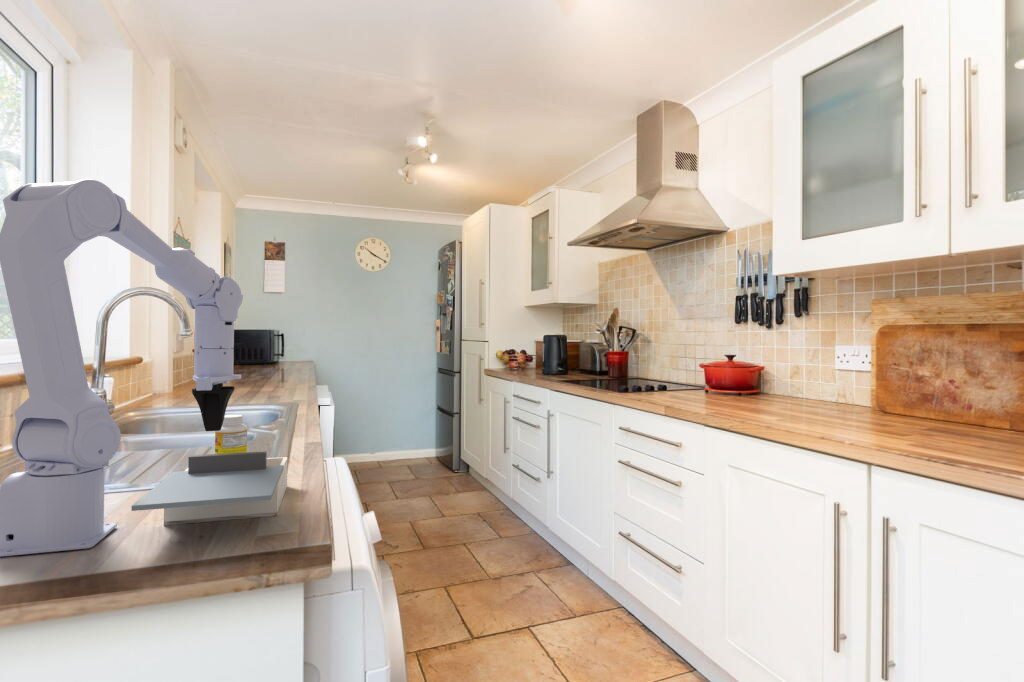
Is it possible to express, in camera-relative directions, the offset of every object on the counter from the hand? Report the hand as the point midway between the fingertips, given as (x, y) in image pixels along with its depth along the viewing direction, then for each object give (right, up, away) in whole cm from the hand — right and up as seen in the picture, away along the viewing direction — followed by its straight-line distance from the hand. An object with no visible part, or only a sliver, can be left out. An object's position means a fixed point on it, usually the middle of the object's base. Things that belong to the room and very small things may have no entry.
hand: (213, 430), depth 88 cm
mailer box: (+7, -10, -7) cm, 14 cm away
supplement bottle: (-5, -10, +15) cm, 19 cm away
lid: (+10, -5, -17) cm, 21 cm away
